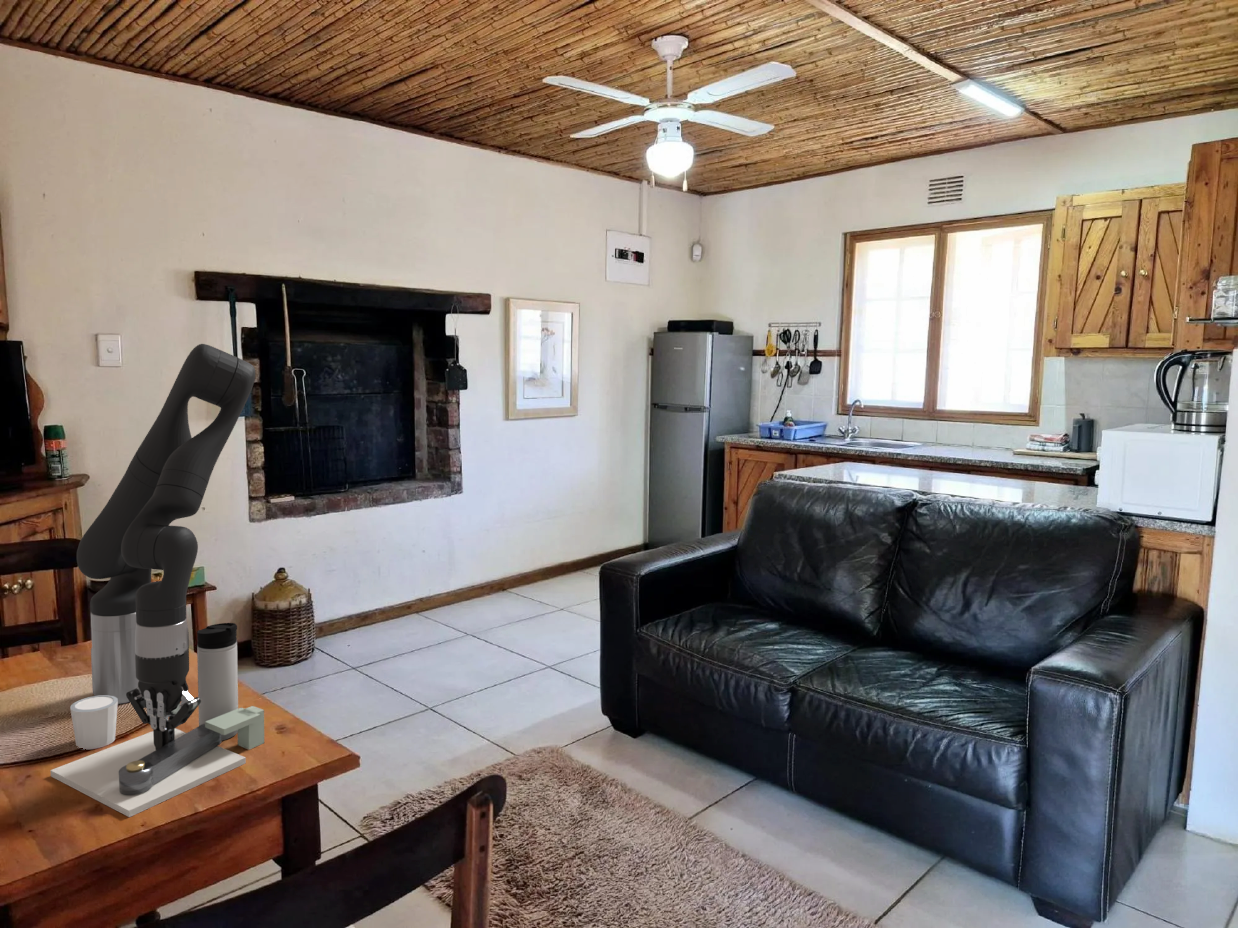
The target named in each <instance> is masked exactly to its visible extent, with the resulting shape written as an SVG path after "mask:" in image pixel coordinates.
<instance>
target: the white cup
mask: <svg viewBox="0 0 1238 928" xmlns="http://www.w3.org/2000/svg"><path fill="white" fill-rule="evenodd" d="M118 705H119V704H118V698H116V697H114V696H109V695H99V696H94V695H93V696H88V697H85V698H82V699H79V700H77V701H75V702H73V703H72V704H71V705H70V714H71V721H72V722H71V723H72V727H73V734H74V740H75V746H78V747H79V748H83V749H82V750H85V749H86V750H94V749H100V748H103V747H106V746H108V745H111V744H112V743H113V742H115V740H116V731H117V730H116V729H117V715H118ZM78 747H77V748H78ZM79 748H78V749H79Z"/></svg>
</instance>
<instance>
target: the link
mask: <svg viewBox="0 0 1238 928" xmlns="http://www.w3.org/2000/svg"><path fill="white" fill-rule="evenodd" d="M185 733H186V734H184V735H182V736H181V737H179V738H177V739H175V740H173V741H172V742H170V743H168V744H166V745H164V746H163V747H161V748H159V749H157V750H155V751H154V752H152V753H150V754H148V755H146V756H145V757H143V758H141V759H139V760H138V761H133V762H130V763H128V764H127V765H125V766H124V767H122V768H121V769H120V770H119V792H120V793H121V794H123V795H135V794H140V793H143V792H145V791H147V790H149V789H150V788H151V787H152V786H153V785H154V784H156V783H157V782H159V781H160V780H162V779H164V778H165V777H167V776H169V775H170V774H172V773H174V772H175V771H177V770H179V769H180V768H182V767H184V766H185V765H187V764H188V763H190V762H192V761H193V760H195V759H197V758H198V757H200V756H202V755H203V754H205V753H207V752H208V751H210V750H212V749H213V748H215V747H217V746H220V745H221V744H222V741H221V734H220V733H218V732H215V731H213V730H210V729H208V728H205V724H202V725H200V726H199V725H198V726H197V727H195V728H194V729H191V730H190V731H188V732H185Z"/></svg>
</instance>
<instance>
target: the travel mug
mask: <svg viewBox="0 0 1238 928" xmlns="http://www.w3.org/2000/svg"><path fill="white" fill-rule="evenodd" d="M237 630H238V625H237V623H235V622H221V623H215V624H211V625H207V626H206V627H205V628H202V629H198V630H197V631H196V636H197V638H196V639H197V644H196V648H197V650H196V651H197V653H196V654H197V655H196V656H197V657H196V658H197V659H196V660H197V687H198V688H197V692H198V696H197V697H199V698H200V700H201V703H200V704H199V706H198V707H197V708H198V726H200V725H202V724H205V722H206V721H208V720H211V719H213V718H216V717H218V716H221V715H223V714H226V713H228V712H231V711H233V710H236V709H238V708H239V687H238V686H239V685H238V683H239V682H238V681H239V679H238V678H239V677H238V637H237V635H238V634H237ZM236 735H238V731H237V730H236V731H233V732H231V733H228V734H226V735H223V734H221V742H222V741H226V740H229V739H232V738H233V737H234V736H236Z"/></svg>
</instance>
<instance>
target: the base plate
mask: <svg viewBox="0 0 1238 928" xmlns="http://www.w3.org/2000/svg"><path fill="white" fill-rule="evenodd" d="M186 733H187V732H185V731H183V730H181V729H179V728H177V727H176V728H175V739H177V738H179V737H181V736H182V735H184V734H186ZM155 750H156V749H155V746H154V735H153V730H152V731H149V732H146V733H145V734H144V733H143V734H141V735H139V736H136V737H133V738H131V739H129V740H125V741H124V742H123V741H122V742H121V743H118V744H115V745H113V746H110V747H108V748H105V749H102V750H100V751H97V752H95V753H92V754H90V755H86V756H84V757H81V758H79V759H76V760H73V761H71V762H69V763H66V764H63V765H60V766H58V767H56V768H53V769H50V777H51V778H53V779H55V780H57V781H59V782H61V783H63V784H65V785H66V786H69V787H71V788H72V789H75V790H76V791H78V792H80V793H82V794H84V795H86V796H88V797H90V798H92V799H93V800H95V801H97V802H99V803H101V804H103V805H105V806H107V807H109V808H111V809H113V810H115V811H117V812H119V813H121V814H123V815H124V816H126V817H128V818H131V817H134V816H135V815H138V814H139V813H142V812H144V811H146V810H148V809H150V808H152V807H155V806H156V805H159V804H160V803H162V802H165V801H167V800H169V799H172V798H174V797H176V796H178V795H180V794H182V793H185V792H186V791H189V790H191V789H194V788H195V787H197V786H200V785H202V784H204V783H207V782H208V781H211V780H213V779H215V778H218V777H219V776H221V775H223V774H226V773H228V772H229V771H232V770H234V769H237V768H238V767H240V766H243V765H245V764H246V762H247V761H246V760H247V759H246V758H247V757H245V756H243V755H241V754H238V753H236V752H233V751H231V750H229V749H226V748H224V747H221V746H220V745H218V746H217V747H215V748H213V749H212V750H210V751H208V752H207V753H205V754H203V755H202V756H200V757H198V758H197V759H195V760H193V761H192V762H190V763H188V764H187V765H185V766H184V767H182V768H180V769H179V770H177V771H175V772H174V773H172V774H170V775H169V776H167V777H165V778H164V779H162V780H160V781H159V782H157V783H156V784H154V785H153V786H152V787H151V788H150V789H149V790H147V791H145V792H143V793H140V794H135V795H123V794H121V793H120V792H119V770H120V769H121V768H122V767H124V766H125V765H127V764H128V763H130V762H133V761H138V760H139V759H141V758H143V757H145V756H146V755H148V754H150V753H152V752H154V751H155Z"/></svg>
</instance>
